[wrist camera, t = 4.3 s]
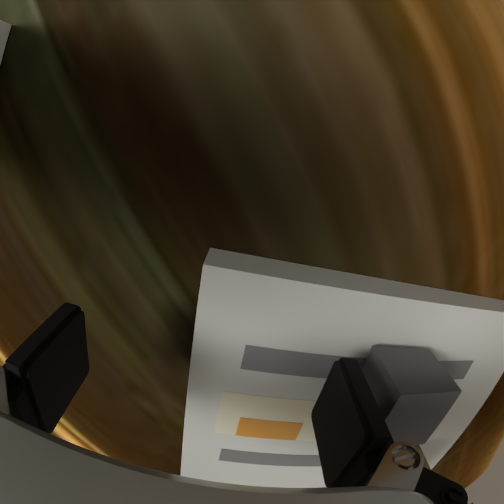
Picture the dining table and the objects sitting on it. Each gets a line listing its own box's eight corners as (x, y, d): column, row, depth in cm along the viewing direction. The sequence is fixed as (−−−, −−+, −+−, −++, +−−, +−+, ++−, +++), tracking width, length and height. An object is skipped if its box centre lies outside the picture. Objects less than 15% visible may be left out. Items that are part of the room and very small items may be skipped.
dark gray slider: (372, 345, 11) (401, 394, 8) (429, 348, 11) (462, 390, 8) (346, 399, 12) (364, 450, 9) (401, 399, 12) (424, 443, 9)
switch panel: (210, 247, 12) (202, 265, 10) (512, 301, 13) (532, 316, 11) (184, 453, 16) (180, 477, 14) (419, 455, 18) (428, 473, 16)
